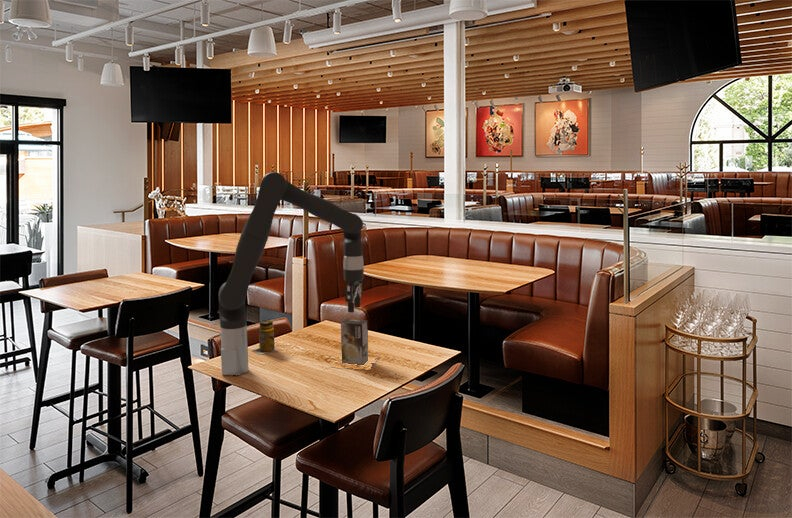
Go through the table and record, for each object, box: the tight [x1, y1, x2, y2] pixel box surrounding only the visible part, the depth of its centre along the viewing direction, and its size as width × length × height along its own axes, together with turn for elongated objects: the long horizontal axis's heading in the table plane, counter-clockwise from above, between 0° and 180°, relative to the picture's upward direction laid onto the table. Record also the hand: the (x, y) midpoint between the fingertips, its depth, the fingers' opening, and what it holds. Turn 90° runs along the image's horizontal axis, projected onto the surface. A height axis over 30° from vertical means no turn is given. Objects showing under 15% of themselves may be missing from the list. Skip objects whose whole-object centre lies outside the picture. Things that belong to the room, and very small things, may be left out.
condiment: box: [251, 320, 279, 355], centre depth 235 cm, size 7×8×12 cm
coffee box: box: [340, 318, 369, 365], centre depth 220 cm, size 9×6×16 cm
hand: (354, 309), depth 218 cm, fingers open, 8 cm apart
